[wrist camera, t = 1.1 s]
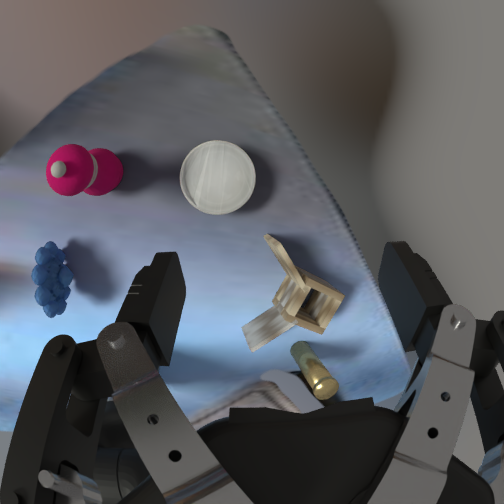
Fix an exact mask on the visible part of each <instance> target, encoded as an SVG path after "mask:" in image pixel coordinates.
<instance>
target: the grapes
mask: <svg viewBox="0 0 504 504" xmlns="http://www.w3.org/2000/svg"><path fill="white" fill-rule="evenodd" d="M65 257H66V256H65V254H64V252H63V251H62V250H61V249H58V247H57V246H56V244H55V243H54V242H51V241H49V242H47V243H46V245H45V246H44V247H41V248H39V249H38V251H37V252H36V256H35V260H36V262H37V264H38V265H36V266H35V267H34V269H33V271H32V275H31V277H32V280H33V281H34V283H35V284H37V285H40V286H39V287H38V288H37V290H36V292H35V299H36V301H37V303H38V304H39V305H40V306H43V310H44V312H45V314H46V315H47V316H48V317H50V318H53V317H54V316H56V314H57V315H61V314H62V313H63V312H64V311H65V309H66V305H67V303H66V301H65V300H66V299H67V298H68V296H69V294H70V291H71V289H70V288H69V285H70V283H71V281H72V279H73V276H74V275H73V273H72V272H71V270H70V269H69V268H68V267H67V266H65V265H64V264H63V262H64V260H65Z"/></svg>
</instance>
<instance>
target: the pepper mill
mask: <svg viewBox="0 0 504 504" xmlns="http://www.w3.org/2000/svg"><path fill="white" fill-rule="evenodd" d="M46 176H47V181H48V183H49V185H50V187H51V188H52V189H53V190H54V191H55V192H56V193H58V194H60V195H64V196H73V195H76V194H78V193H80V192H82V191H84V192H85V193H87V194H89V195H94V196H100V195H104V194H106V193H108V192H110V191H111V190H112V189H114V188H115V187H117V186H118V184H119V183H120V181H121V179H122V177H123V166H122V163H121V161H120V160H119V159H118V158H117V157H116V155H115V154H114V153H113V152H111V151H109V150H107V149H102V148H97V149H92V150H90V151H87V150H86V149H85V148H84V147H82V146H80V145H76V144H68V145H64V146H62V147H60V148H59V149H57V150H56V151H55V152H54V153H53V154H52V156H51V157H50V159H49V161H48V163H47V167H46Z"/></svg>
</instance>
